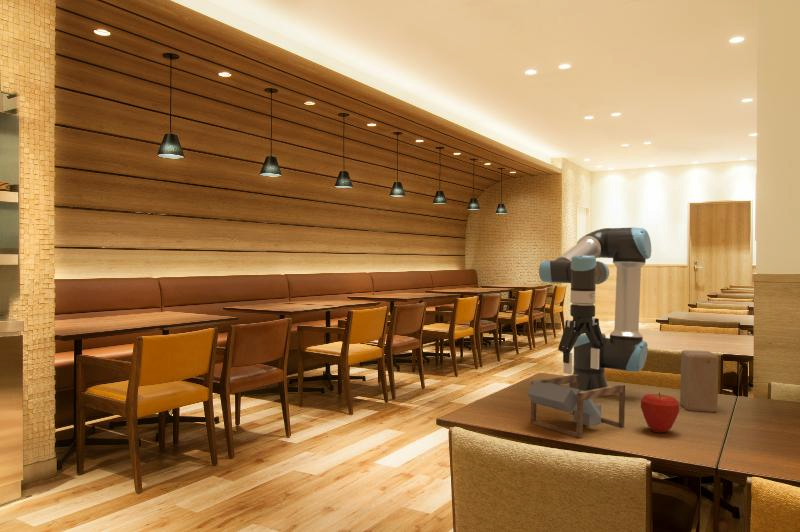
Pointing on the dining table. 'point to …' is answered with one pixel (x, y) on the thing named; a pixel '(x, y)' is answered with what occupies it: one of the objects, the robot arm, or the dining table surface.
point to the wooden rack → (580, 398)
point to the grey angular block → (560, 398)
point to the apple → (659, 411)
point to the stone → (589, 417)
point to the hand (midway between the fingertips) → (581, 371)
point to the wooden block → (699, 381)
